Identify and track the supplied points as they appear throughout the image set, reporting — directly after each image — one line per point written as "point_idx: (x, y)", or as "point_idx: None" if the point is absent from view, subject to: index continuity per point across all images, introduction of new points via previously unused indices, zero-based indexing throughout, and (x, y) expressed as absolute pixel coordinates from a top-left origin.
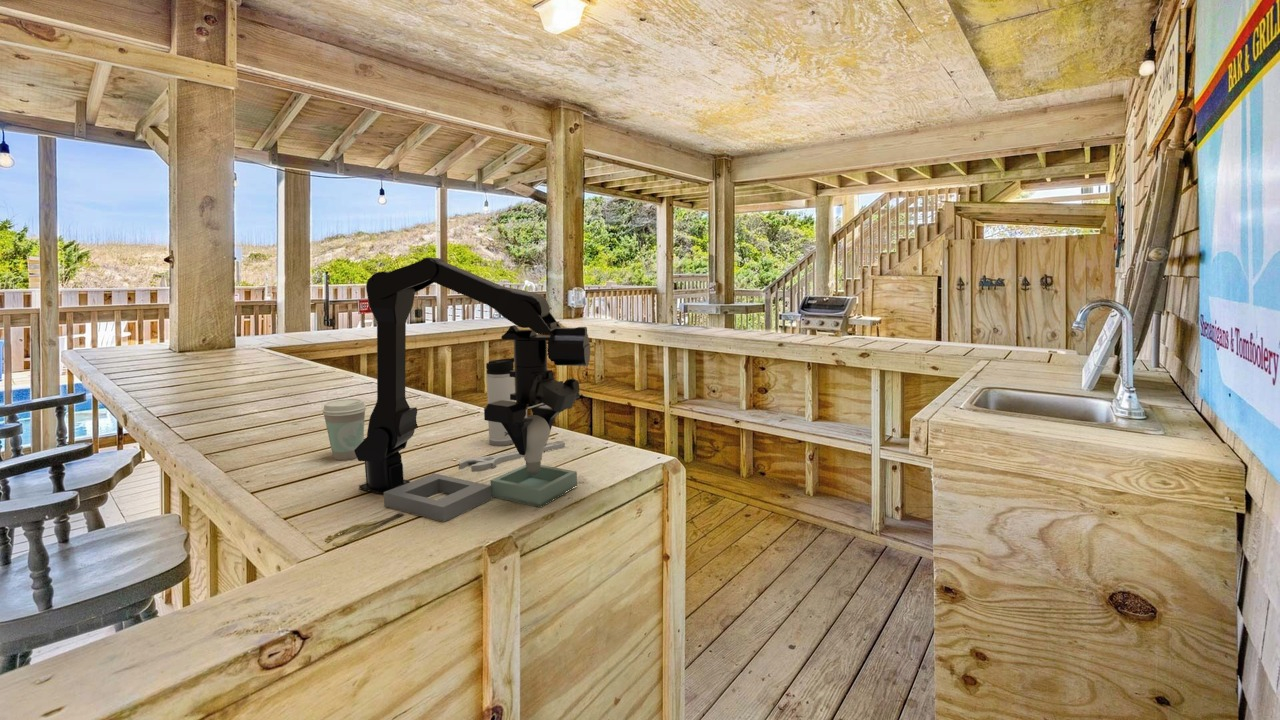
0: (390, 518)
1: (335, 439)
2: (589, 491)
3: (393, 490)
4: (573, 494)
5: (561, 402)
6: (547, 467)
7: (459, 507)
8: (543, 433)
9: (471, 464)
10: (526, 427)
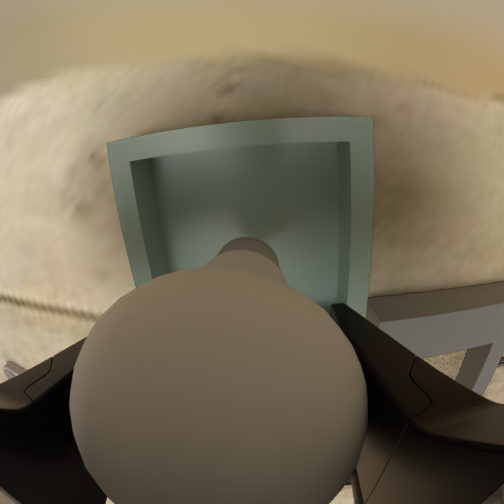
0: (502, 362)
1: None
2: (140, 77)
3: None
4: (192, 99)
5: None
6: (144, 273)
7: (478, 295)
8: (236, 298)
9: None
10: (434, 423)
